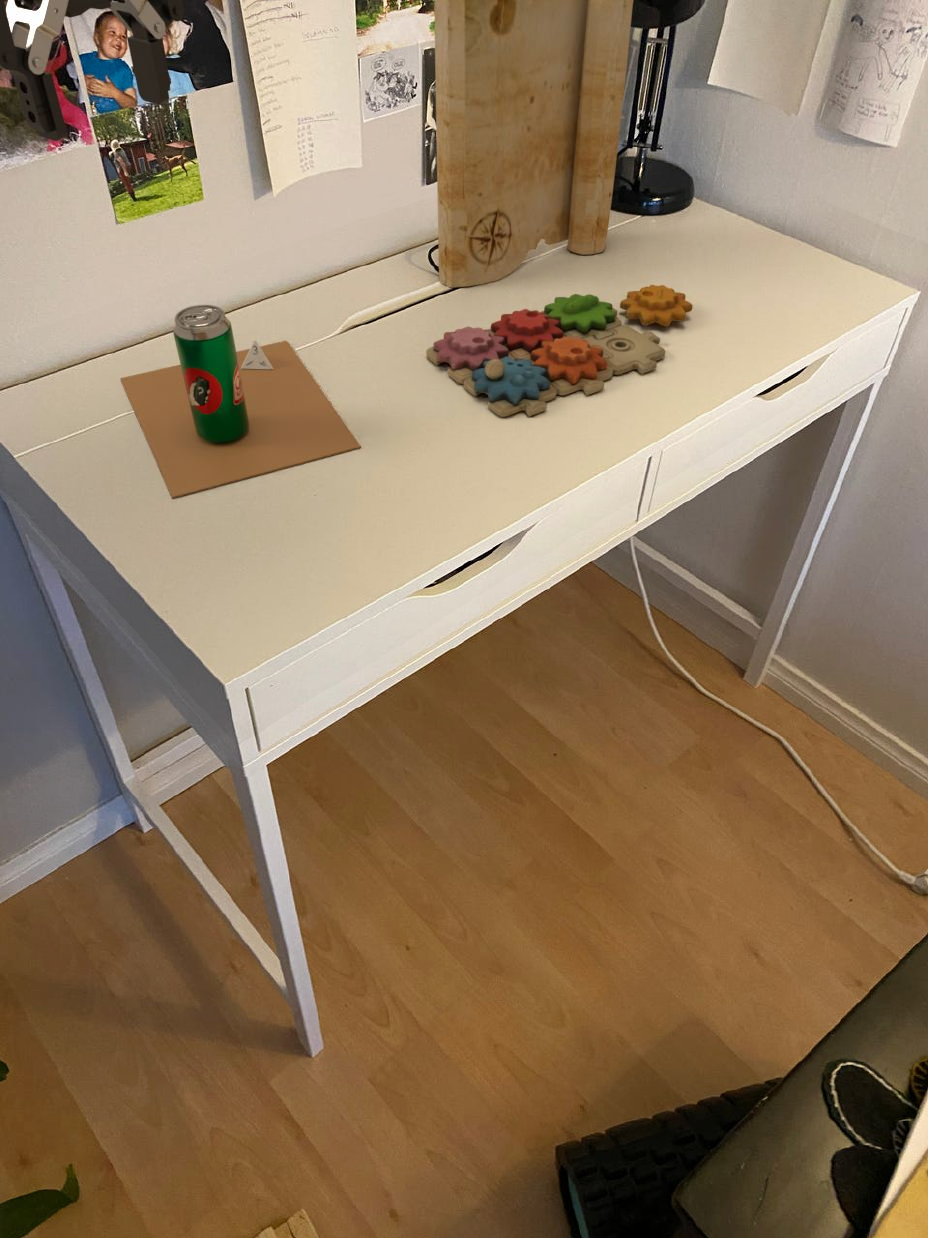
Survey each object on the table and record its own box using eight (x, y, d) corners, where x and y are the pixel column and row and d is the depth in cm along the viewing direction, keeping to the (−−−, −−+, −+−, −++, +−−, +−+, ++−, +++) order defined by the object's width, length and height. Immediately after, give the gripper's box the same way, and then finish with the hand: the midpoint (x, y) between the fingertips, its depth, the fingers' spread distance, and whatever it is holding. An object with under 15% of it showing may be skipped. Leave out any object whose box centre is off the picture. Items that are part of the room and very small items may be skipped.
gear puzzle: (641, 283, 114) (645, 250, 112) (737, 340, 105) (745, 305, 102) (419, 356, 102) (418, 320, 99) (505, 428, 93) (506, 391, 90)
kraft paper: (172, 498, 85) (171, 497, 85) (120, 379, 99) (120, 377, 99) (360, 447, 90) (360, 446, 90) (286, 341, 104) (286, 340, 104)
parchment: (449, 292, 113) (447, -5, 91) (427, 270, 117) (420, -19, 95) (616, 253, 120) (650, -30, 99) (590, 234, 124) (617, -42, 103)
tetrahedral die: (261, 383, 100) (264, 362, 97) (240, 368, 100) (243, 346, 98) (282, 368, 102) (286, 347, 99) (262, 354, 102) (265, 332, 100)
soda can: (255, 440, 91) (234, 323, 82) (202, 451, 90) (175, 334, 81) (243, 412, 94) (222, 298, 86) (192, 423, 93) (165, 307, 84)
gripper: (86, -224, 56) (147, 81, 68) (-139, -207, 48) (-25, 138, 59) (177, -216, 53) (225, 101, 65) (-46, -197, 45) (55, 163, 56)
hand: (105, 118), depth 62 cm, fingers open, 8 cm apart
